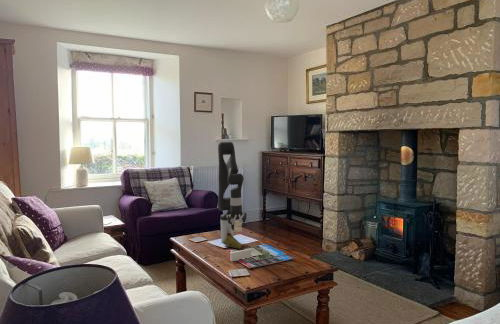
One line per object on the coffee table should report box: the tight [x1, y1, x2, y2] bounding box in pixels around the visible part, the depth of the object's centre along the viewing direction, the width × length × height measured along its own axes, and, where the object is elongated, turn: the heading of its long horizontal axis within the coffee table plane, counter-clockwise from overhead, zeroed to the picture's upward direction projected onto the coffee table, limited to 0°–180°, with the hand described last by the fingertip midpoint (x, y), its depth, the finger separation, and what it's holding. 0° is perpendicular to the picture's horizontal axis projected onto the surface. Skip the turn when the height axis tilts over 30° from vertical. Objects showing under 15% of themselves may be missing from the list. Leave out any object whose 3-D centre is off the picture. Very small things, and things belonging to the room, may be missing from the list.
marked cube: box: [232, 220, 243, 233], centre depth 234 cm, size 5×5×6 cm
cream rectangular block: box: [229, 248, 252, 262], centre depth 228 cm, size 2×14×6 cm, turn 114°
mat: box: [243, 247, 264, 257], centre depth 240 cm, size 16×7×1 cm, turn 24°
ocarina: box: [222, 233, 245, 250], centre depth 251 cm, size 20×5×10 cm, turn 50°
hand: (236, 229), depth 234 cm, fingers closed on marked cube, 5 cm apart
